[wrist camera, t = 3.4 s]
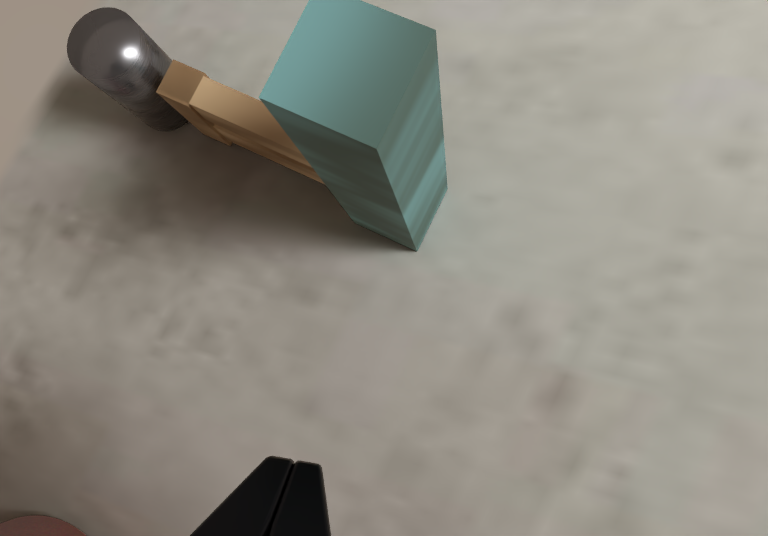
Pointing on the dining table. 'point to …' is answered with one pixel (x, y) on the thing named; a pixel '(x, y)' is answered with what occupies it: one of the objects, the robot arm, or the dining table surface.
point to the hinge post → (123, 64)
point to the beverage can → (38, 527)
